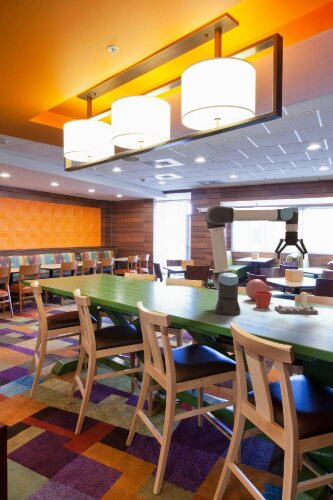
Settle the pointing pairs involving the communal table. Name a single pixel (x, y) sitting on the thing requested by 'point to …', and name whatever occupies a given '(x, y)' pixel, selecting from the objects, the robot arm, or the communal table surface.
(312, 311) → the console
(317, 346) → the communal table surface
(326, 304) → the communal table surface
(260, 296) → the flower pot
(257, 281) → the balloon
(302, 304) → the fader tab
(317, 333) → the communal table surface
